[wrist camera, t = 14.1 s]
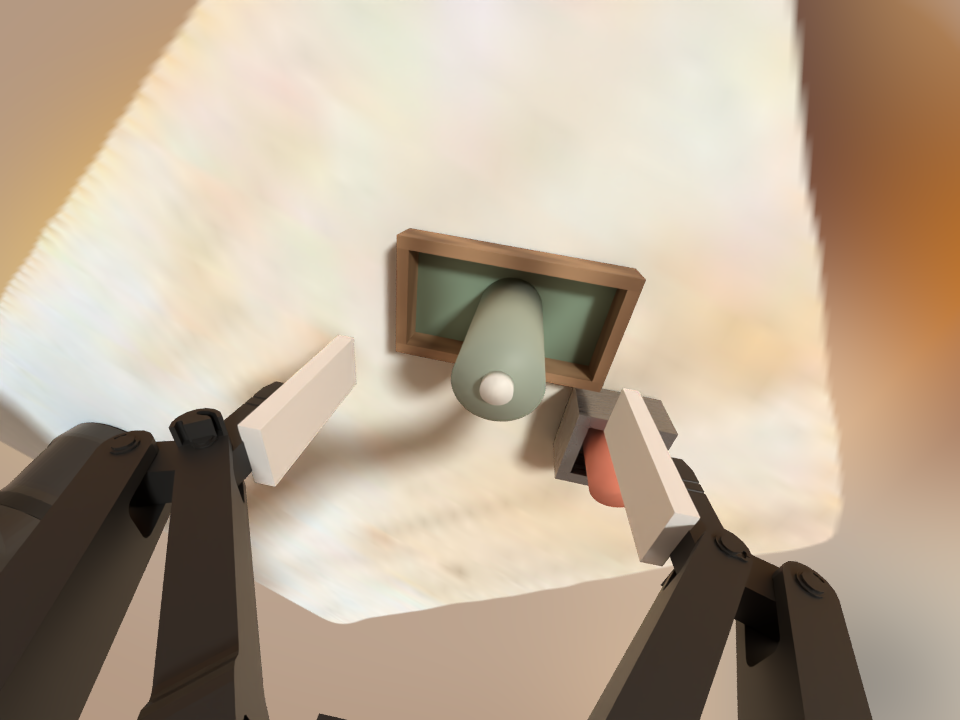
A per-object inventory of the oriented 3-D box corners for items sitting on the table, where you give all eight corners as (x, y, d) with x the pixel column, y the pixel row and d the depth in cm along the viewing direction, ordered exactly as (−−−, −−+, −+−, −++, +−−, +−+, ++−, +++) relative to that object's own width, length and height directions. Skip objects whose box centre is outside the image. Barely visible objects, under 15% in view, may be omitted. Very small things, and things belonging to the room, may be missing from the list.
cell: (476, 329, 26) (444, 418, 17) (484, 271, 24) (453, 339, 15) (534, 341, 26) (533, 437, 17) (549, 283, 24) (557, 360, 14)
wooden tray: (406, 337, 28) (395, 351, 26) (409, 228, 23) (396, 234, 21) (595, 374, 27) (599, 392, 25) (635, 268, 22) (645, 279, 20)
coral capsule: (574, 442, 30) (581, 500, 25) (588, 407, 28) (599, 463, 23) (620, 451, 29) (636, 512, 24) (637, 417, 27) (660, 475, 22)
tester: (553, 443, 31) (554, 478, 28) (574, 383, 28) (579, 414, 24) (628, 459, 31) (639, 496, 27) (660, 400, 27) (678, 434, 24)
